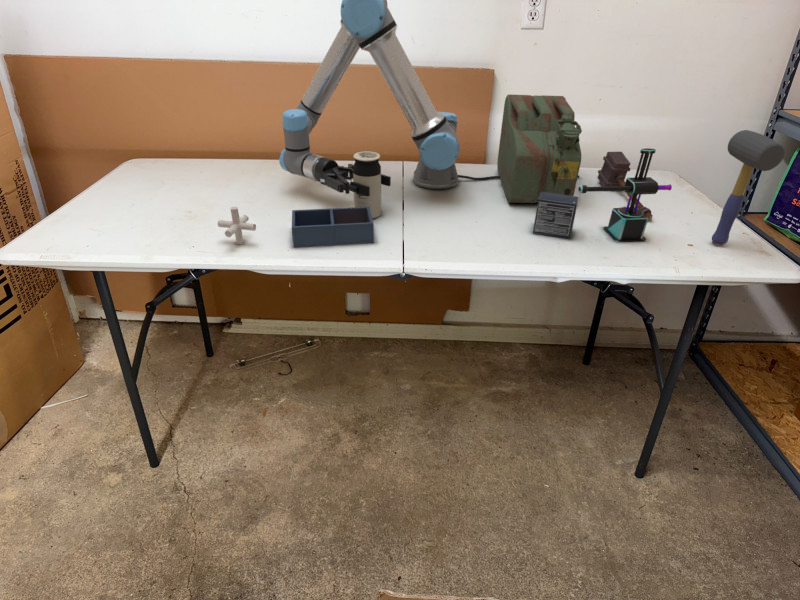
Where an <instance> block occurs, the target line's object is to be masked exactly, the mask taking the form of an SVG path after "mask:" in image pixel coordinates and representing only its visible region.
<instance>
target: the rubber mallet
mask: <svg viewBox="0 0 800 600" xmlns="http://www.w3.org/2000/svg"><path fill="white" fill-rule="evenodd" d="M785 151H786V149H785V147H784V145H783V144H781V143H779V142H778V141H776V140H774V139H772V138H770V137H769V136H767V135H764V134H762V133H758V132H756V131H753V130H749V129H744V130H740V131H738V132H736V133H735V134H734V135H732V137H730V139H729V141H728V143H727V152H728V153H729V154H730V156H732V157H733V158H734V159H736V160H738V161H740V163H742V164H743V165H742V167H741V170H740V172H739V175H738V177H737V179H736V182H735V184H734V186H733V189H732V192H731V193H730V194H729V196H728V198H727V200H726V201H725V203H724V206H723V208H722V210H721V215H720V219H719V222H718V223H717V226H716V229H715V231H714V233H713V234H712V235H711V241H712V244H713V245H715V246H718V247H722V246H725V245H726V244H727V243H728V241H729V238H730V232H731V230H732V228H733V225H734V222H735V220H736V219H737V217H738V215H739V213H740V211H741V208H742V204H743V201H744V194H745V192H746V188H747V186H748V184H749V181H750V178H751V176H752V174H753V171H754V169H756V170H757V171H758V170H759V171H761V172H762V171H763V172H768V171H771V170H773V169H775V168H776V167H778V166H779V165H780V164H781V163H782V161H783V159H784V157H785V153H786V152H785Z"/></svg>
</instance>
